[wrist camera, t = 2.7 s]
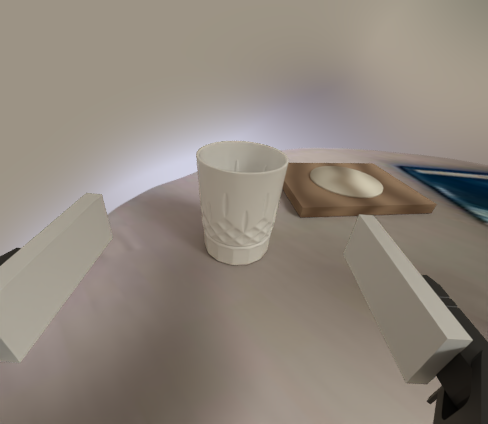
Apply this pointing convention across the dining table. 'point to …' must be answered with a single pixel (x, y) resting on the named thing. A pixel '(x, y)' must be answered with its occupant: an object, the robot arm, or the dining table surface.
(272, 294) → the dining table surface
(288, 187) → the walnut board
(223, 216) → the white cup
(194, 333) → the dining table surface
